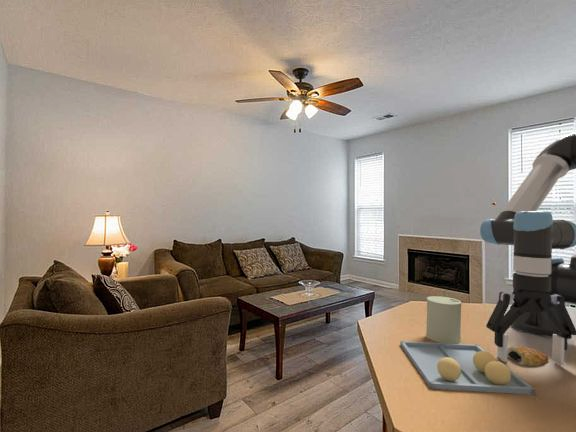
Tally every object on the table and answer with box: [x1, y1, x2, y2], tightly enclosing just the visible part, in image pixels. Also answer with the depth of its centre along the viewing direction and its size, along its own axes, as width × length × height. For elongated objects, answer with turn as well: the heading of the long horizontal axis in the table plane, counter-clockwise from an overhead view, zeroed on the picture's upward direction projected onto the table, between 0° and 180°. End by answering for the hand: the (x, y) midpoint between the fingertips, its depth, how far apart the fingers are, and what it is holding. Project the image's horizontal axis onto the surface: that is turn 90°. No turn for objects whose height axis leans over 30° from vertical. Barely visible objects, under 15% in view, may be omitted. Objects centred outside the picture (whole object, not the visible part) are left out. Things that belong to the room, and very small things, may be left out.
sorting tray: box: [400, 340, 536, 396], centre depth 74 cm, size 20×22×2 cm
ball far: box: [437, 357, 461, 381], centre depth 68 cm, size 5×5×5 cm
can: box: [425, 295, 463, 344], centre depth 92 cm, size 9×9×12 cm
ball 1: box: [473, 350, 497, 373], centre depth 71 cm, size 5×5×5 cm
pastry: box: [507, 345, 549, 367], centre depth 78 cm, size 9×7×4 cm
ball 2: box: [485, 360, 511, 385], centre depth 66 cm, size 5×5×5 cm
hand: (529, 361), depth 78 cm, fingers open, 12 cm apart
